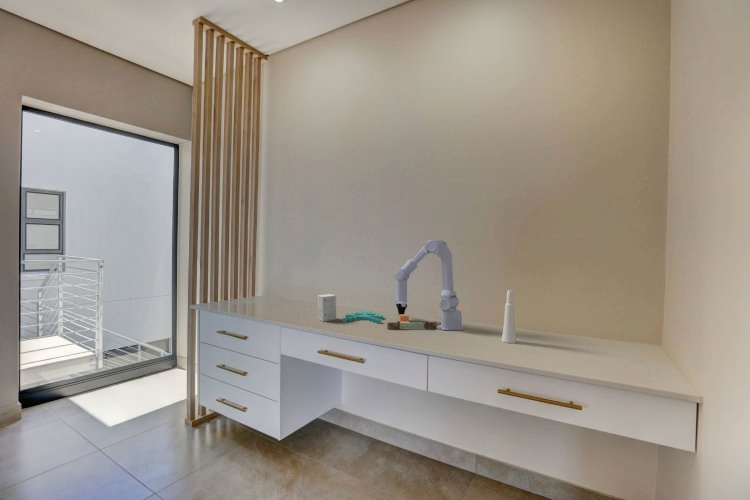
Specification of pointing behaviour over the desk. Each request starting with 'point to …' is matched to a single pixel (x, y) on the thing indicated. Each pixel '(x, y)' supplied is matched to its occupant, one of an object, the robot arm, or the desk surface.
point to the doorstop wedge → (404, 318)
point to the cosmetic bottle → (509, 320)
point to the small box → (326, 307)
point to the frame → (397, 325)
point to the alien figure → (363, 317)
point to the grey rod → (412, 325)
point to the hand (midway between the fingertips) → (401, 317)
